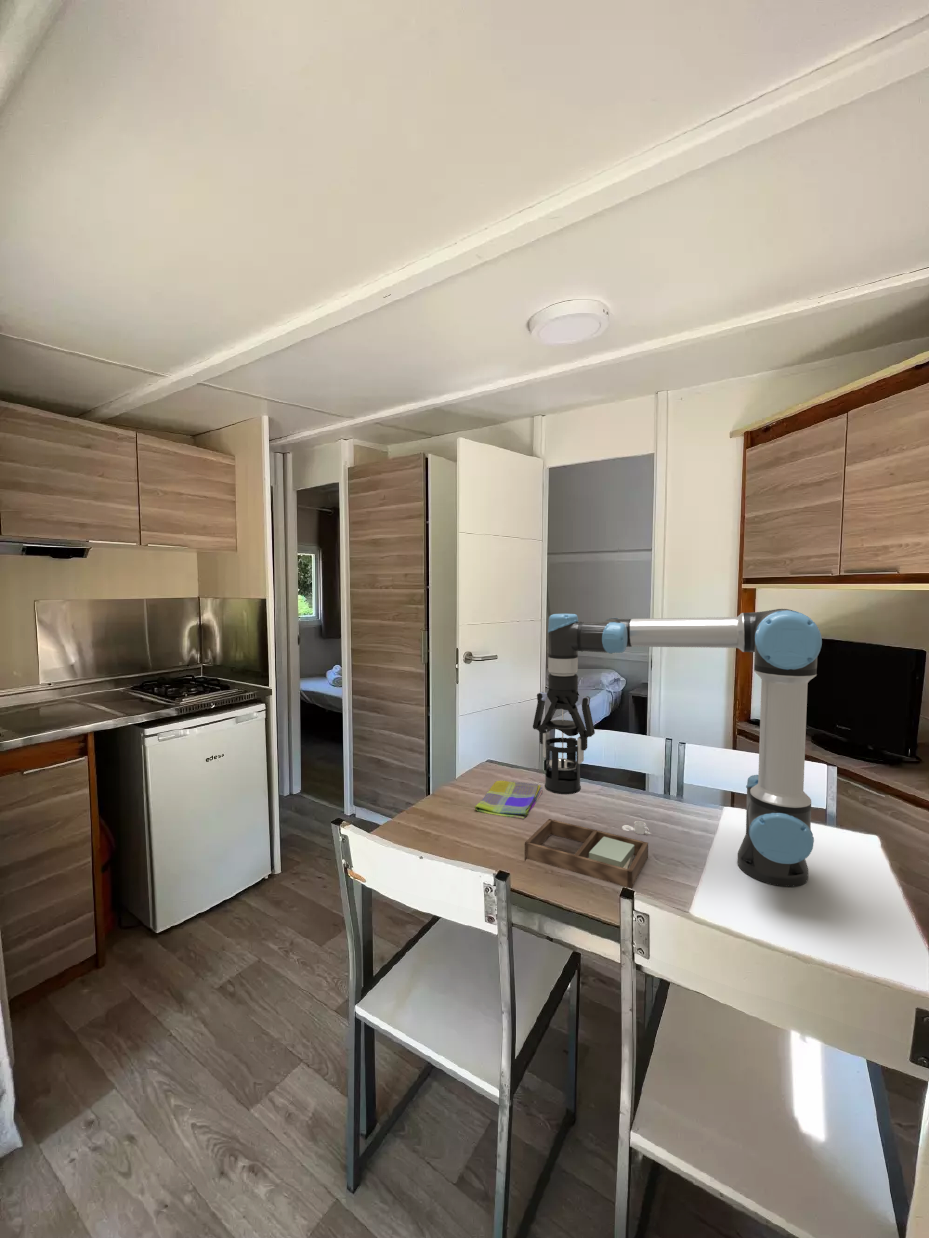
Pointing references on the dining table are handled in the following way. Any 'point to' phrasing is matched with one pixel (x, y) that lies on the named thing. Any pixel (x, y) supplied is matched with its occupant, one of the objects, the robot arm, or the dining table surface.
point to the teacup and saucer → (637, 827)
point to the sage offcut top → (612, 852)
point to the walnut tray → (584, 853)
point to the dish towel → (510, 799)
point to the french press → (562, 759)
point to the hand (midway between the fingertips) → (563, 759)
